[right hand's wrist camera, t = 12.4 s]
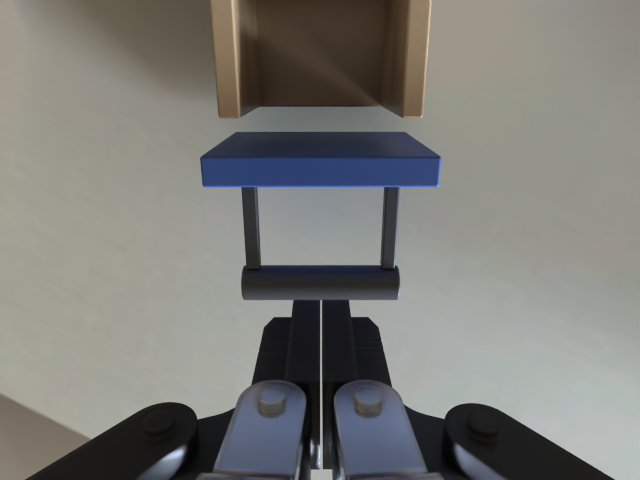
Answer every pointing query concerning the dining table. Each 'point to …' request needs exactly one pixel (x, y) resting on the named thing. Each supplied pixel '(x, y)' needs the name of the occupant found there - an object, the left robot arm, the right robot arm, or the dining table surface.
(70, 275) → the dining table surface
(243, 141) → the drawer
